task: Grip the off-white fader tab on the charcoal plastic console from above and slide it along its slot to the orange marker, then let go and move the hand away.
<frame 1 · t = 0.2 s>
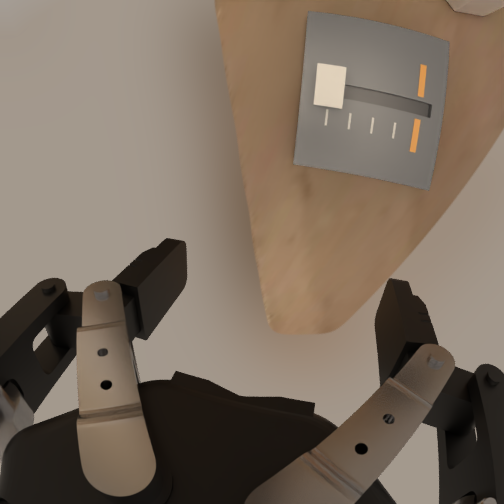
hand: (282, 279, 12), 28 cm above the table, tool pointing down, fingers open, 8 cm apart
fader console: (371, 98, 31), on the table
fader tab: (329, 87, 27), point 5 cm above the table, slide at -5.0 cm
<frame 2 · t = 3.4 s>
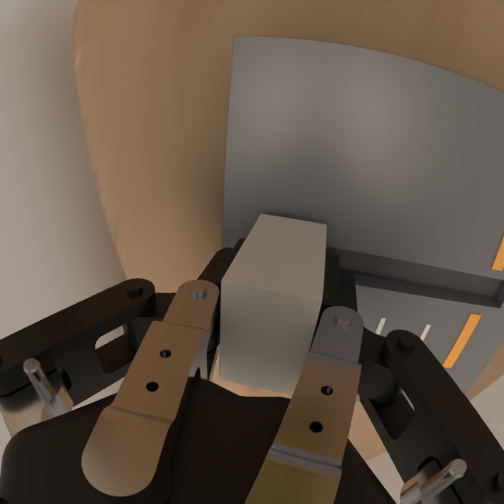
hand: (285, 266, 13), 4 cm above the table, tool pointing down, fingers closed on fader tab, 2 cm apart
fader console: (388, 246, 15), on the table
fader tab: (280, 287, 12), point 5 cm above the table, slide at -5.0 cm, touching gripper
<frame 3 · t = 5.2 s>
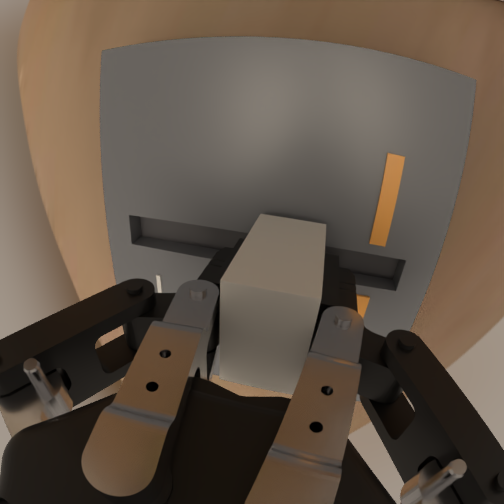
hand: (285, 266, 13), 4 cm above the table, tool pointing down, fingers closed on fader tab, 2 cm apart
fader console: (269, 225, 17), on the table
fader tab: (280, 287, 12), point 5 cm above the table, slide at 1.4 cm, touching gripper
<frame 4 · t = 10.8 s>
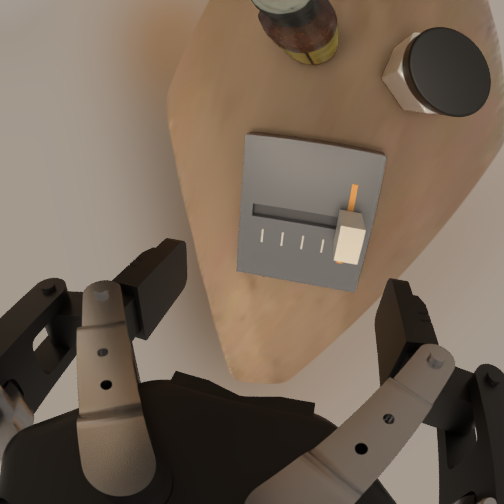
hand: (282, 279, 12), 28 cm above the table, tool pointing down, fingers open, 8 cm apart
fader console: (307, 209, 40), on the table
sauce bottle: (310, 42, 30), on the table
fader tab: (348, 233, 34), point 5 cm above the table, slide at 5.0 cm
jar: (416, 79, 29), on the table
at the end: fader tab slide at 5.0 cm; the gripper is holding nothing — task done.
